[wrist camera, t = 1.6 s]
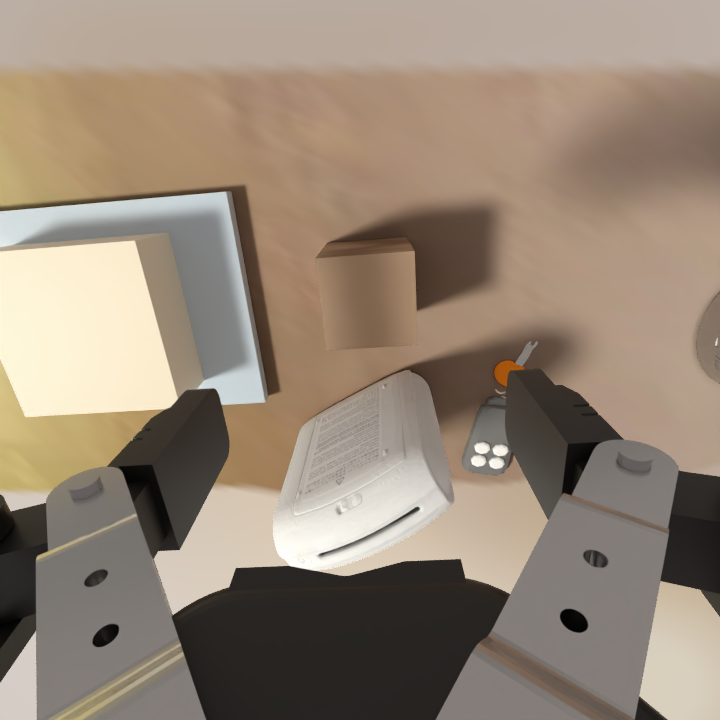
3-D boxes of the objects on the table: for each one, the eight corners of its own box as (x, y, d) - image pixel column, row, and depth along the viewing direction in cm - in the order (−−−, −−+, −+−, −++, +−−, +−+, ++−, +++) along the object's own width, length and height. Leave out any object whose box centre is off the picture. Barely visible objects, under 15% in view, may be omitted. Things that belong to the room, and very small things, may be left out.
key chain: (504, 468, 34) (510, 480, 32) (458, 462, 34) (461, 474, 32) (553, 311, 29) (562, 317, 27) (499, 303, 29) (505, 309, 27)
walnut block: (406, 236, 27) (414, 250, 21) (409, 313, 29) (417, 344, 23) (327, 242, 27) (315, 258, 22) (335, 318, 29) (326, 350, 24)
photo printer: (324, 464, 34) (298, 608, 22) (292, 423, 32) (248, 555, 21) (441, 404, 31) (479, 532, 20) (412, 357, 30) (435, 466, 19)
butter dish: (231, 191, 26) (200, 193, 21) (268, 395, 31) (250, 432, 27) (-47, 215, 27) (-133, 222, 23) (34, 409, 32) (-22, 447, 28)
